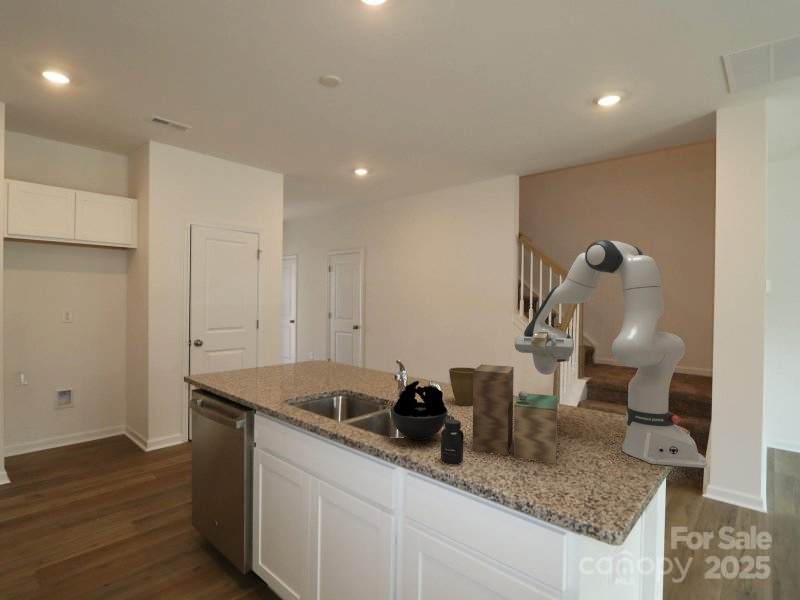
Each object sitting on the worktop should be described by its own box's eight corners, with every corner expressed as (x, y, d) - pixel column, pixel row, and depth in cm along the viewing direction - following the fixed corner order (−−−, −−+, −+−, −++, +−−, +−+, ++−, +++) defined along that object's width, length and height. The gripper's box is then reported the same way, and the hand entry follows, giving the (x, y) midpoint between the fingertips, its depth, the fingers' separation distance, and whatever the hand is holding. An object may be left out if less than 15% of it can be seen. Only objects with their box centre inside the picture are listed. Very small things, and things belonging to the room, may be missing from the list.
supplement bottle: (445, 466, 121) (445, 425, 121) (437, 457, 127) (437, 418, 127) (467, 464, 123) (467, 423, 123) (457, 455, 129) (458, 417, 129)
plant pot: (483, 408, 185) (484, 372, 185) (450, 407, 185) (450, 372, 185) (478, 400, 200) (478, 367, 200) (447, 399, 200) (447, 366, 200)
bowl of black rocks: (439, 451, 132) (440, 393, 132) (381, 444, 139) (382, 388, 139) (452, 432, 151) (453, 381, 151) (400, 426, 158) (401, 377, 158)
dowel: (548, 341, 146) (548, 332, 146) (544, 348, 125) (544, 337, 125) (538, 341, 147) (538, 331, 147) (533, 347, 126) (533, 337, 126)
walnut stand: (512, 442, 141) (513, 366, 141) (507, 456, 129) (508, 373, 129) (480, 438, 145) (481, 364, 145) (472, 451, 133) (473, 370, 133)
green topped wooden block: (556, 444, 140) (557, 387, 140) (555, 464, 123) (556, 399, 123) (520, 439, 145) (520, 384, 144) (513, 457, 128) (514, 395, 128)
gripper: (516, 342, 160) (512, 326, 149) (573, 345, 153) (574, 329, 141) (515, 357, 157) (511, 342, 146) (573, 361, 150) (574, 345, 139)
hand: (542, 336), depth 144 cm, fingers closed on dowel, 3 cm apart
